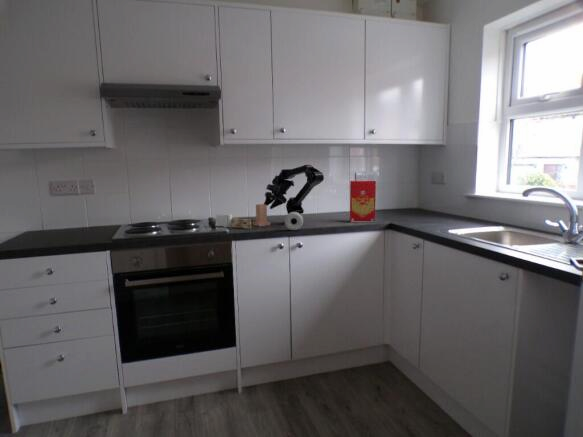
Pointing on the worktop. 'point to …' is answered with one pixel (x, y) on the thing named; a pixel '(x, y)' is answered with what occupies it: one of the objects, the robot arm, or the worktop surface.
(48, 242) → the worktop surface
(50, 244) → the worktop surface
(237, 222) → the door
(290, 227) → the donut
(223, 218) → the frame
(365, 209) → the food packaging
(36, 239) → the worktop surface
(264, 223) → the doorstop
